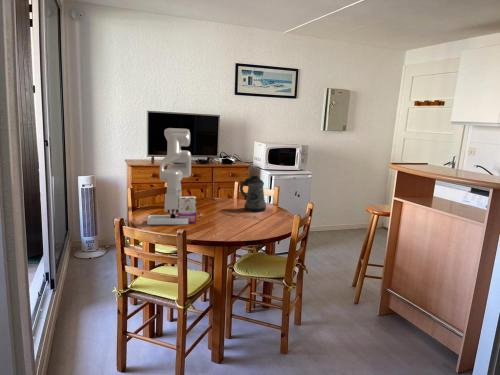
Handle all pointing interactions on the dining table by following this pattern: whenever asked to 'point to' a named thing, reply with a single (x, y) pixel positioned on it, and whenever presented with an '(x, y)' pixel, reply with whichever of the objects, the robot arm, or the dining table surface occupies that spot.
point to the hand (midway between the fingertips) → (172, 220)
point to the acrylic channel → (166, 219)
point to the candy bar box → (187, 208)
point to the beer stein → (254, 194)
